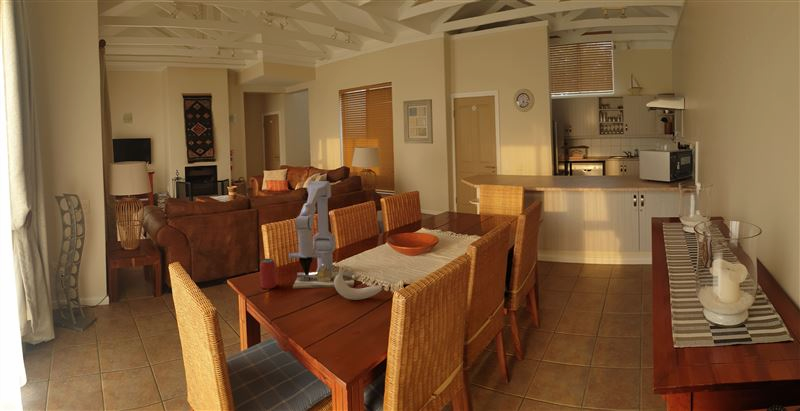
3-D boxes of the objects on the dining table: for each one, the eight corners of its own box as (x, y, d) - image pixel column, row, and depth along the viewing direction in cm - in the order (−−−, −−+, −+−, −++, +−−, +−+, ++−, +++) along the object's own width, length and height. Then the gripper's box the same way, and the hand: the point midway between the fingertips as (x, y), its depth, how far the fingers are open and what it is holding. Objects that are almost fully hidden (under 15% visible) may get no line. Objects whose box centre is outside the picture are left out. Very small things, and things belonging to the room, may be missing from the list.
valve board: (298, 277, 220) (298, 275, 220) (355, 276, 221) (355, 273, 221) (293, 288, 206) (292, 285, 206) (353, 286, 207) (353, 284, 207)
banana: (382, 299, 192) (381, 264, 189) (335, 303, 188) (333, 268, 186) (381, 295, 196) (380, 261, 194) (334, 299, 193) (333, 264, 190)
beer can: (278, 284, 212) (277, 258, 209) (273, 289, 205) (271, 262, 203) (264, 283, 212) (262, 257, 210) (258, 289, 206) (256, 262, 204)
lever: (322, 266, 213) (321, 263, 213) (327, 266, 213) (327, 262, 213) (318, 276, 200) (317, 272, 200) (323, 276, 200) (323, 272, 200)
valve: (299, 278, 215) (298, 266, 214) (352, 277, 216) (351, 264, 215) (297, 282, 210) (296, 269, 209) (351, 280, 211) (351, 268, 210)
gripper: (286, 246, 197) (288, 277, 200) (321, 245, 197) (322, 277, 200) (289, 242, 204) (291, 272, 206) (323, 241, 204) (324, 271, 207)
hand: (307, 274), depth 204 cm, fingers closed
